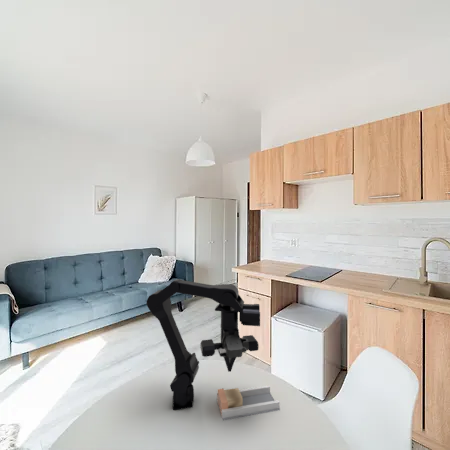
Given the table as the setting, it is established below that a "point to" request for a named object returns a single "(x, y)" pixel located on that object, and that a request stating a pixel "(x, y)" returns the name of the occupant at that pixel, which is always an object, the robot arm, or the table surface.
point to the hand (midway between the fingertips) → (229, 371)
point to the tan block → (234, 398)
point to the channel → (248, 403)
